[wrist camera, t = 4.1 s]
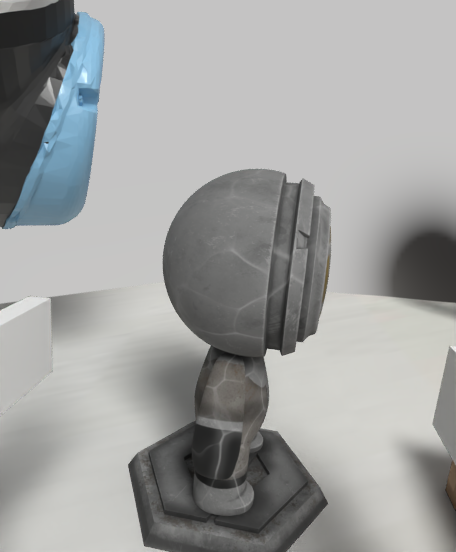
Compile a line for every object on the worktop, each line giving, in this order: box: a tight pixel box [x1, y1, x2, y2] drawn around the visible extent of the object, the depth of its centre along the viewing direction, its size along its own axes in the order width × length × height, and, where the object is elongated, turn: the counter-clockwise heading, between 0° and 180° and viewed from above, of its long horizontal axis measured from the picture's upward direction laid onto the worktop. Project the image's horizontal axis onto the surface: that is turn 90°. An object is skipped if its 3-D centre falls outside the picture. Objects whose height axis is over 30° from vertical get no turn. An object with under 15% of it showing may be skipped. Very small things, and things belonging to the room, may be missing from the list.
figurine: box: [128, 169, 331, 552], centre depth 19 cm, size 9×10×15 cm
